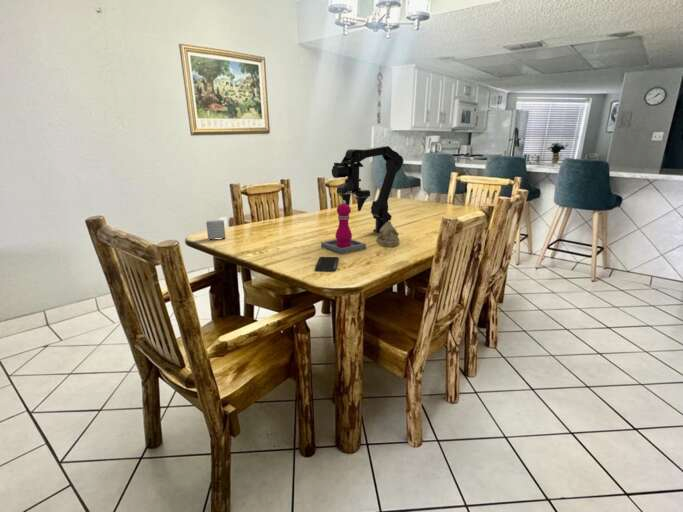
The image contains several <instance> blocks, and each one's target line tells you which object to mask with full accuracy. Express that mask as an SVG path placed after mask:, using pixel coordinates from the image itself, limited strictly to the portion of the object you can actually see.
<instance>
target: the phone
mask: <svg viewBox="0 0 683 512" xmlns="http://www.w3.org/2000/svg"><path fill="white" fill-rule="evenodd" d="M339 260H340V258H339V257H338V256H319V257H318V260H317V261H316V264H315V266H314V267H315V268H314V271H315V272H324V273H325V272H327V273H328V272H329V273H331V272H332V273H333V272H334V273H335V272H336V271H337V269H338V264H339Z"/></svg>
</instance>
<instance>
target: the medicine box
mask: <svg viewBox="0 0 683 512" xmlns="http://www.w3.org/2000/svg"><path fill="white" fill-rule="evenodd" d="M205 225H206V232H207V240H208V239H215V238H226V229H225V222H224V220H223V219H219V220H218V219H217V220H207V221H206V223H205Z"/></svg>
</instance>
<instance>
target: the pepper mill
mask: <svg viewBox="0 0 683 512" xmlns="http://www.w3.org/2000/svg"><path fill="white" fill-rule="evenodd" d="M351 212H352V208H351V206H350V204H349V205H347V204H346V201H345V200H343V199H342V201H341V204H339V205H337V208H336V213H337V214H338V215H337V220H338V227H337V229H336V231H335V239H337V240H338V241H337V247H341V248H345V247H349V246H351V242H350V240H351V239H352V238H353V235H352V234H353V233H352V231H351V228H350V225H349V220H350V214H351Z"/></svg>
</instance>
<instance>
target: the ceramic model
mask: <svg viewBox="0 0 683 512" xmlns="http://www.w3.org/2000/svg"><path fill="white" fill-rule="evenodd" d="M379 234H380V235H379V236H377V237H376V240H375V242H376V241H377V242H376V243H377V244H379V245H380V244H381V246H382V245H383V246H382V247H395V246H396V247H397V246H398V245H400V238H399V237H398V236H399V232H398V231H397V229H396V228H395V227H394V225H392V222H391V220H389V221H388V222H386V223H385V225H384V226H382V228H381V229H380V232H379Z"/></svg>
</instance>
